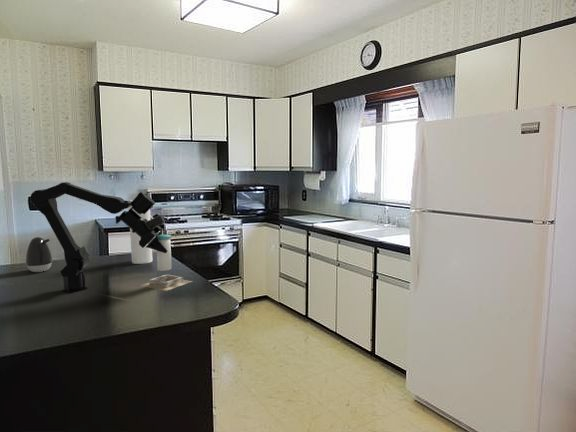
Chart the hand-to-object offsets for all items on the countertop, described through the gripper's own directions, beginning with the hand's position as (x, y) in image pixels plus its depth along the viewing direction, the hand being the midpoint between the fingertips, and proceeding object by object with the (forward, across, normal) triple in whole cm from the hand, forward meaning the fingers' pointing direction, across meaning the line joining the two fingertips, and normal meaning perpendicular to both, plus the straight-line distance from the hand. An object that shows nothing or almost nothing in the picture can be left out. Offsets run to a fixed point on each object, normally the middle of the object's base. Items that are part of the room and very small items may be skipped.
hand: (167, 250), depth 158 cm
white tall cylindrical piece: (+4, 0, +6) cm, 7 cm away
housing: (+9, 0, +10) cm, 13 cm away
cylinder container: (-3, +43, +22) cm, 48 cm away
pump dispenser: (-32, +33, +52) cm, 69 cm away
